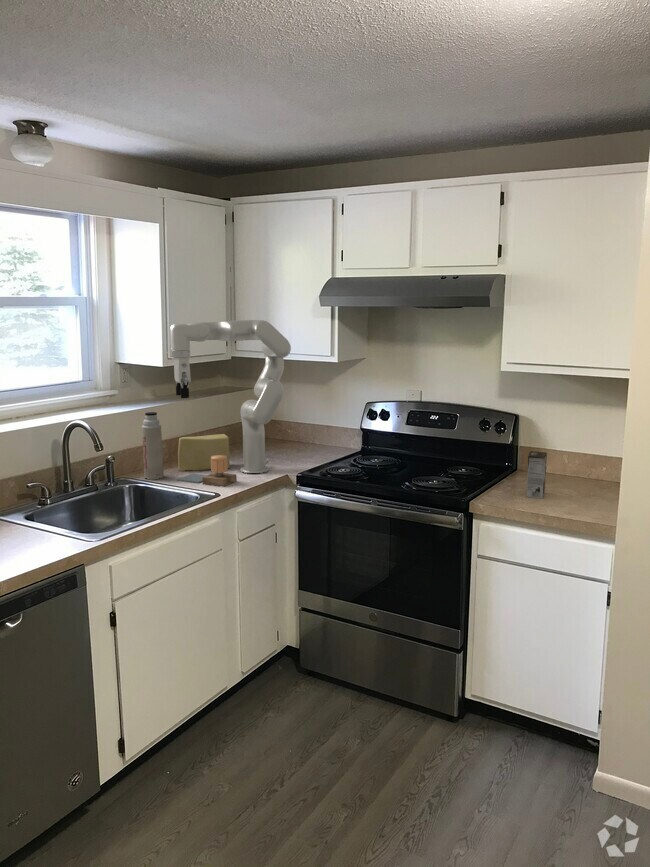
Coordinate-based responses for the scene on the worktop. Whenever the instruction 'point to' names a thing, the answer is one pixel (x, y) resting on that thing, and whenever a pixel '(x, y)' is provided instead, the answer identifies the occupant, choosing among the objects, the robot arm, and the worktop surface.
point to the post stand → (219, 479)
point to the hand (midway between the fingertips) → (182, 396)
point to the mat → (192, 478)
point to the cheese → (201, 451)
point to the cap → (219, 464)
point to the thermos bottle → (152, 447)
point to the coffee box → (536, 474)
